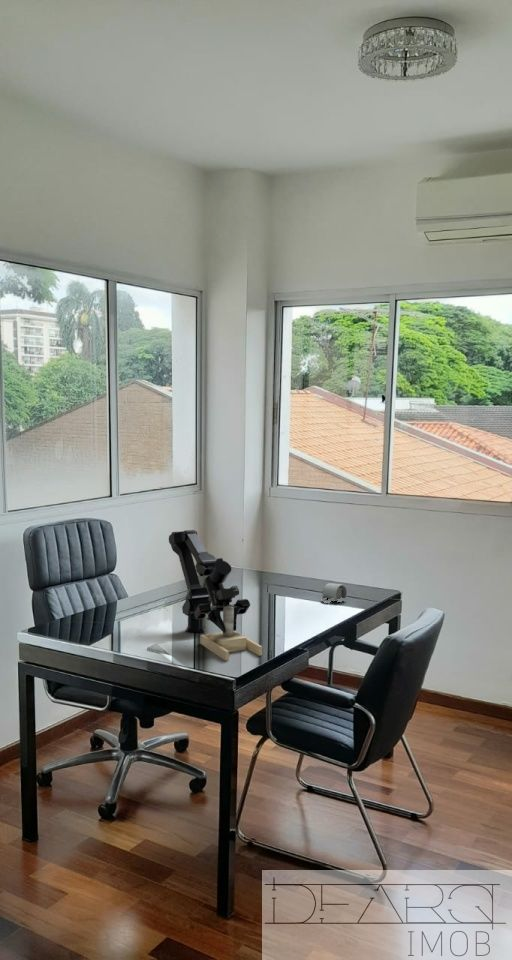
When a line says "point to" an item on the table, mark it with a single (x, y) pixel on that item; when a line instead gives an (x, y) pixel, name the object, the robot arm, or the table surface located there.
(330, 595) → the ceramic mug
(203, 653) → the table surface
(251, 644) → the frame
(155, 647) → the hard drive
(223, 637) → the peg on wooden base
